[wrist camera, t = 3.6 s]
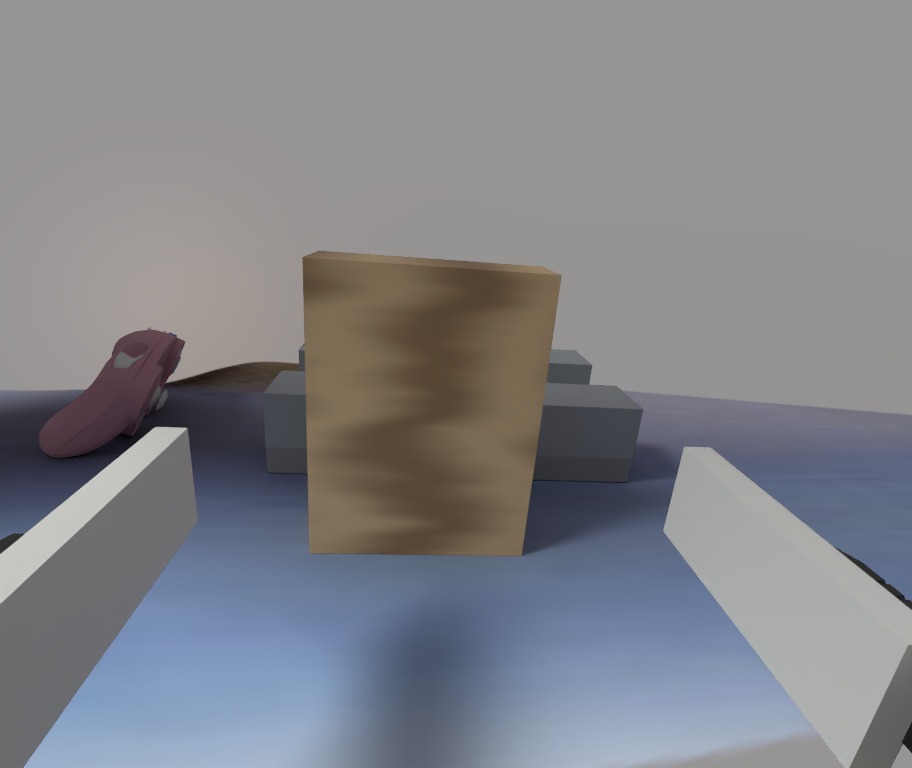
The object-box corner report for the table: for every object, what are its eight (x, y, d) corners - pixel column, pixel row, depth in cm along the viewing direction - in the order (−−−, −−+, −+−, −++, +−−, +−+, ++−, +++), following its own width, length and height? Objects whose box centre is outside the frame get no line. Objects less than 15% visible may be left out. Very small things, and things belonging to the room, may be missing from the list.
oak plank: (309, 553, 21) (302, 257, 17) (322, 512, 23) (318, 250, 20) (521, 555, 21) (561, 275, 18) (509, 515, 24) (541, 266, 20)
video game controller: (123, 484, 27) (175, 375, 26) (24, 456, 25) (77, 337, 24) (164, 415, 36) (205, 331, 35) (94, 390, 34) (134, 300, 33)
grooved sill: (266, 472, 26) (262, 393, 25) (311, 393, 38) (310, 336, 36) (627, 482, 28) (642, 409, 27) (567, 404, 40) (575, 350, 38)
